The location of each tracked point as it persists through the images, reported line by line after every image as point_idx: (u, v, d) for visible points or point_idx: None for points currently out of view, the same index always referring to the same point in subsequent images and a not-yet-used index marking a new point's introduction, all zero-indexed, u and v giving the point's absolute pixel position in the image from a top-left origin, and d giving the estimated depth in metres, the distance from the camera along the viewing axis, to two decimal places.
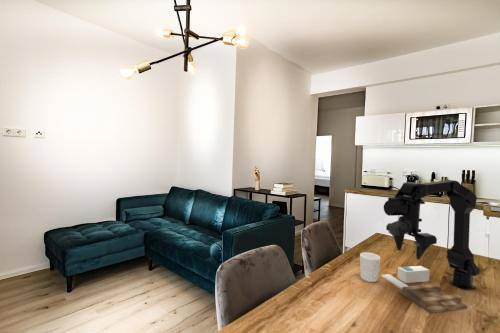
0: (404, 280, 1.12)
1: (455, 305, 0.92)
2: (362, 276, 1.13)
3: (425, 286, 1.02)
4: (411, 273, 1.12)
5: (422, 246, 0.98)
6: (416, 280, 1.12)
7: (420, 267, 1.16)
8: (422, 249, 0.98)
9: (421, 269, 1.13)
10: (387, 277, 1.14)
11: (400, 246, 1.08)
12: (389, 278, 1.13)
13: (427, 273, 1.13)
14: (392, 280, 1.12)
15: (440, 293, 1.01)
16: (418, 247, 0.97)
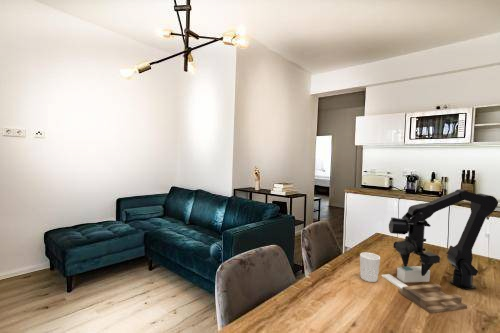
0: (403, 280, 1.12)
1: (455, 305, 0.92)
2: (362, 276, 1.13)
3: (425, 286, 1.02)
4: (410, 273, 1.12)
5: (426, 264, 1.09)
6: (416, 280, 1.12)
7: (420, 267, 1.16)
8: (426, 267, 1.09)
9: None
10: (387, 277, 1.14)
11: (406, 263, 1.19)
12: (389, 278, 1.13)
13: (427, 273, 1.13)
14: (392, 280, 1.12)
15: (440, 293, 1.01)
16: (423, 265, 1.08)
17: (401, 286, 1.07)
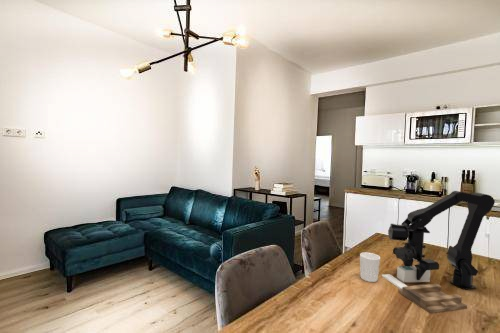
0: (403, 279, 1.12)
1: (455, 305, 0.92)
2: (362, 276, 1.13)
3: (425, 286, 1.02)
4: (410, 272, 1.12)
5: (421, 269, 1.11)
6: (416, 280, 1.12)
7: None
8: (421, 271, 1.11)
9: None
10: (387, 277, 1.14)
11: None
12: (389, 278, 1.13)
13: (428, 273, 1.13)
14: (392, 280, 1.12)
15: (440, 293, 1.01)
16: (418, 270, 1.10)
17: (401, 286, 1.07)
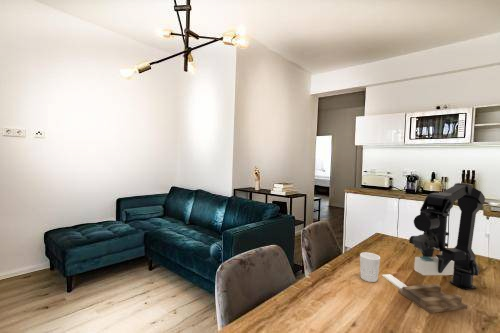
0: (422, 271, 0.96)
1: (455, 305, 0.92)
2: (362, 276, 1.13)
3: (425, 286, 1.02)
4: (430, 263, 0.96)
5: (444, 259, 0.95)
6: (437, 272, 0.96)
7: None
8: (444, 262, 0.95)
9: None
10: (388, 277, 1.14)
11: None
12: (389, 278, 1.14)
13: (451, 265, 0.97)
14: (392, 280, 1.12)
15: (440, 293, 1.01)
16: (440, 260, 0.94)
17: (400, 286, 1.07)
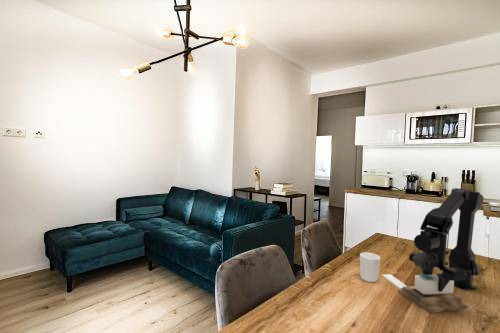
0: (422, 290, 0.96)
1: (455, 305, 0.92)
2: (362, 276, 1.13)
3: None
4: (431, 282, 0.96)
5: (444, 278, 0.95)
6: (437, 291, 0.96)
7: None
8: (444, 281, 0.95)
9: None
10: (388, 277, 1.15)
11: None
12: (389, 278, 1.14)
13: (451, 283, 0.97)
14: (392, 280, 1.12)
15: None
16: (440, 280, 0.94)
17: (400, 286, 1.07)
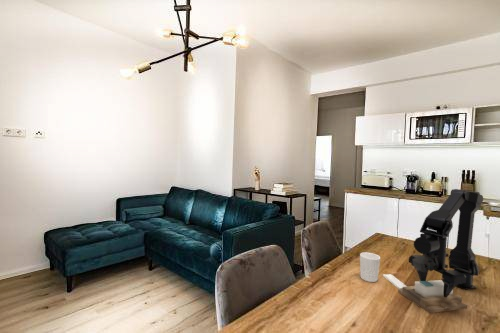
0: None
1: (455, 305, 0.92)
2: (362, 276, 1.13)
3: None
4: (431, 289, 0.96)
5: (450, 284, 0.93)
6: None
7: (441, 282, 1.00)
8: (450, 287, 0.93)
9: (443, 285, 0.97)
10: (388, 277, 1.15)
11: (424, 280, 1.03)
12: (390, 278, 1.14)
13: None
14: (392, 280, 1.12)
15: None
16: (446, 285, 0.92)
17: (399, 286, 1.07)
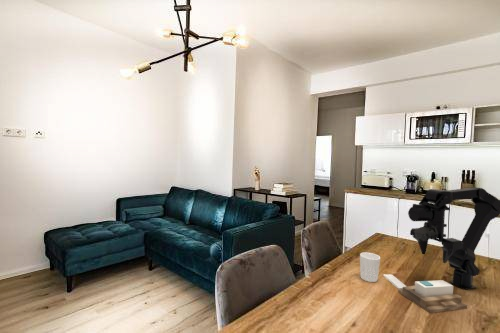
0: None
1: (455, 305, 0.92)
2: (362, 276, 1.13)
3: None
4: (431, 289, 0.96)
5: (448, 250, 1.02)
6: None
7: (441, 282, 1.00)
8: (448, 253, 1.02)
9: (443, 285, 0.97)
10: (388, 277, 1.15)
11: (424, 250, 1.12)
12: (390, 278, 1.14)
13: (450, 289, 0.97)
14: (392, 280, 1.12)
15: None
16: (445, 252, 1.02)
17: (399, 286, 1.07)
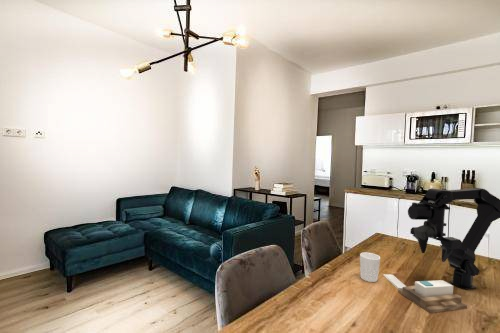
0: None
1: (455, 305, 0.92)
2: (362, 276, 1.13)
3: None
4: (431, 289, 0.96)
5: (447, 249, 1.03)
6: None
7: (441, 282, 1.00)
8: (447, 252, 1.03)
9: (443, 285, 0.97)
10: (388, 277, 1.15)
11: (424, 249, 1.13)
12: (390, 278, 1.14)
13: (450, 289, 0.97)
14: (392, 280, 1.12)
15: None
16: (444, 250, 1.03)
17: (399, 286, 1.07)
